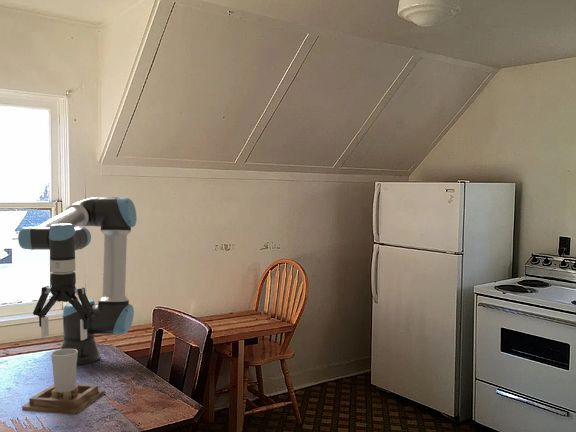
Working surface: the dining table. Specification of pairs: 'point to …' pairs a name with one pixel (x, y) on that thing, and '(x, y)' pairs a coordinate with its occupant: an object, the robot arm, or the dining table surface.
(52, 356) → the cup
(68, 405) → the peg stand
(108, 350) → the dining table surface
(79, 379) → the dining table surface
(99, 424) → the dining table surface
